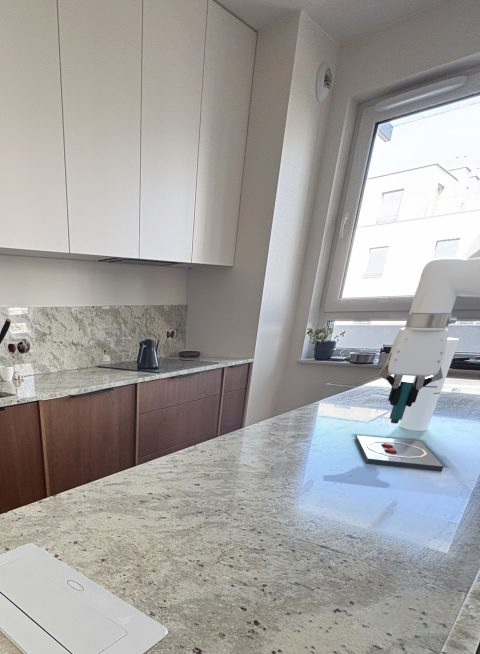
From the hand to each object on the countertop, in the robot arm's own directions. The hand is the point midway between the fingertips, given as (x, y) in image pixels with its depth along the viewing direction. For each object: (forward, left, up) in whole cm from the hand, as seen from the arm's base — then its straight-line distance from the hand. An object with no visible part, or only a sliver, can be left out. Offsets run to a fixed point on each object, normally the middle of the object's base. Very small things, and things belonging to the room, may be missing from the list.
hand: (400, 404), depth 102 cm
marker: (0, 0, -5) cm, 5 cm away
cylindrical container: (-12, -28, -12) cm, 33 cm away
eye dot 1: (0, -1, -12) cm, 12 cm away
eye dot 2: (0, +3, -12) cm, 13 cm away
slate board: (-2, +1, -12) cm, 12 cm away
